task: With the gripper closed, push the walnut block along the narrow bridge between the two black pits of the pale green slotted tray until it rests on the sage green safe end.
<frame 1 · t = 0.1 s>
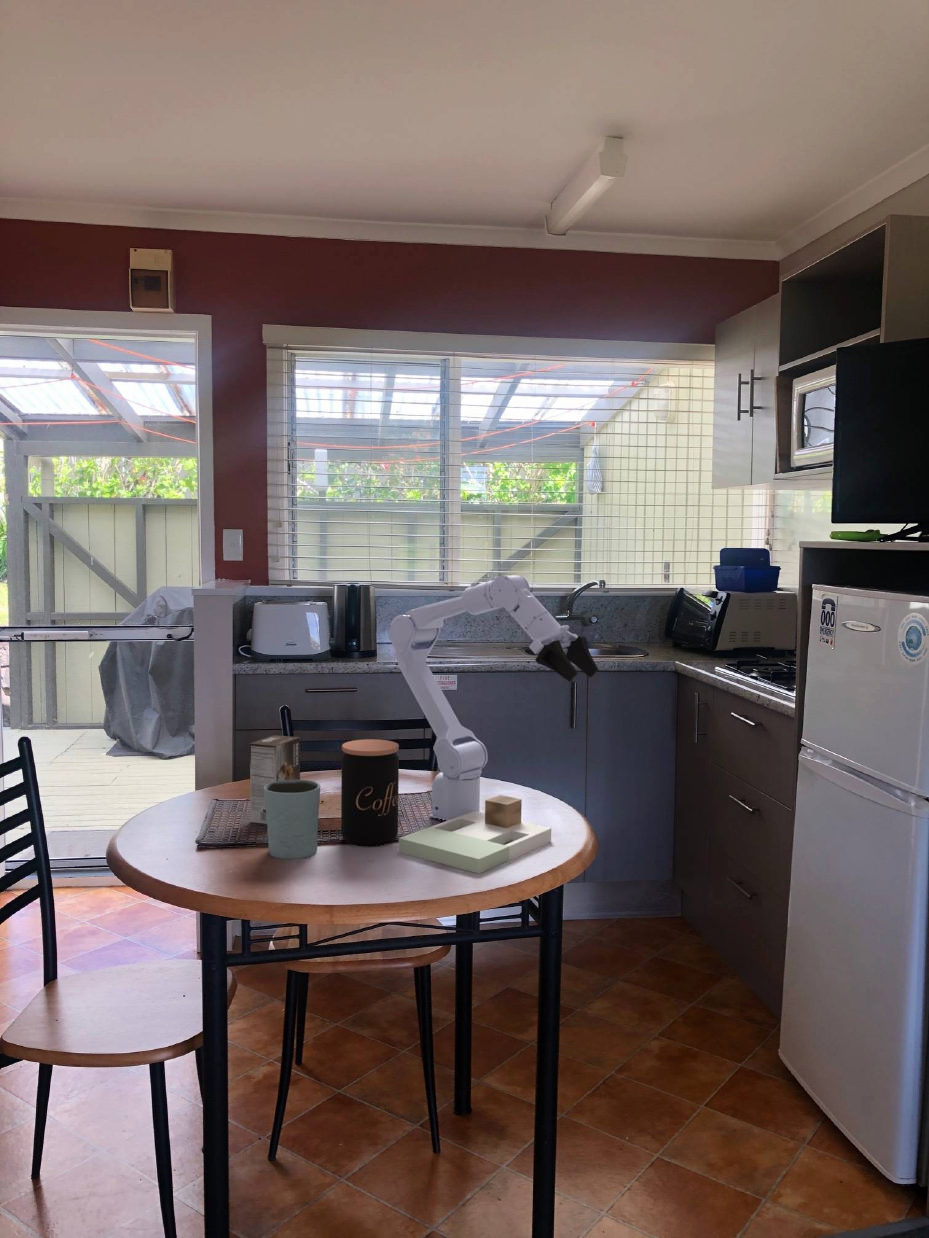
hand: (584, 675, 172), 32 cm above the table, tool tilted 50°, fingers open, 7 cm apart
pale green cup: (292, 852, 169), on the table
pale green slotted tray: (476, 846, 173), on the table
block: (503, 822, 179), point 2 cm above the table, touching pale green slotted tray
coffee box: (275, 819, 189), on the table
coffee jar: (369, 840, 176), on the table
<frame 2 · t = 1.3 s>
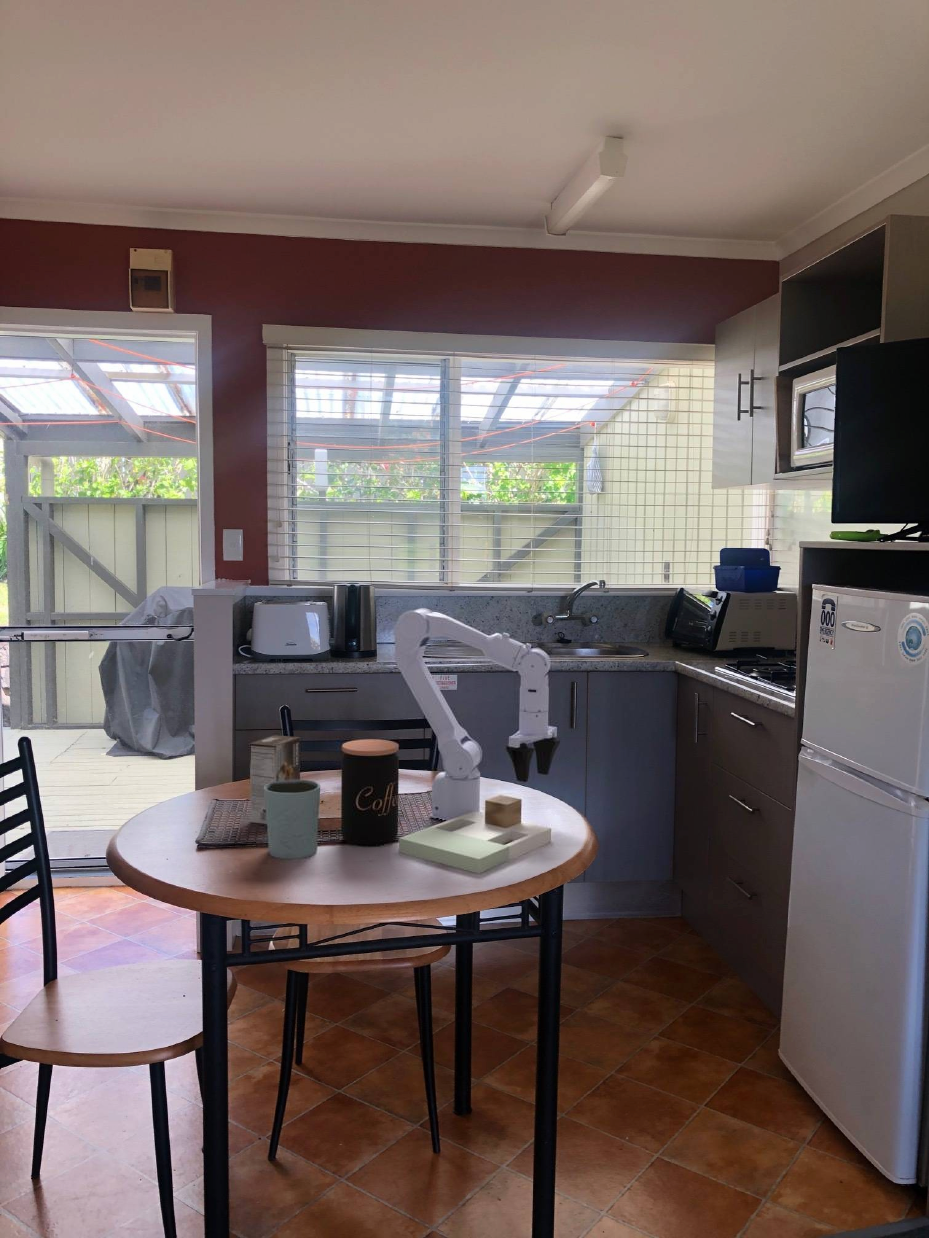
hand: (532, 777, 187), 9 cm above the table, tool pointing down, fingers open, 7 cm apart
nothing on the table moved.
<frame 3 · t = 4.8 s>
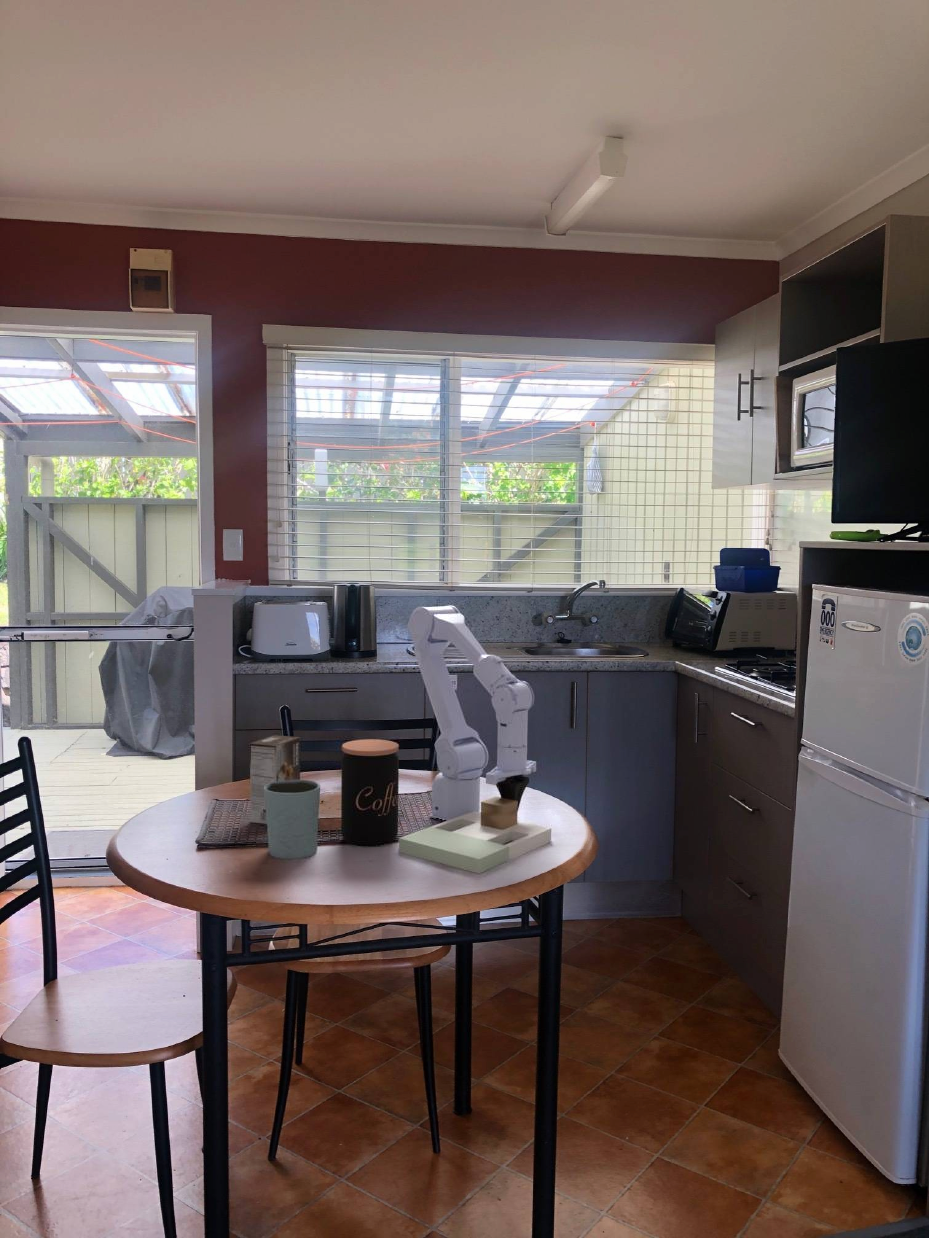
hand: (511, 814, 181), 4 cm above the table, tool pointing down, fingers closed
block: (499, 824, 178), point 2 cm above the table, touching pale green slotted tray, gripper
everything else where it was.
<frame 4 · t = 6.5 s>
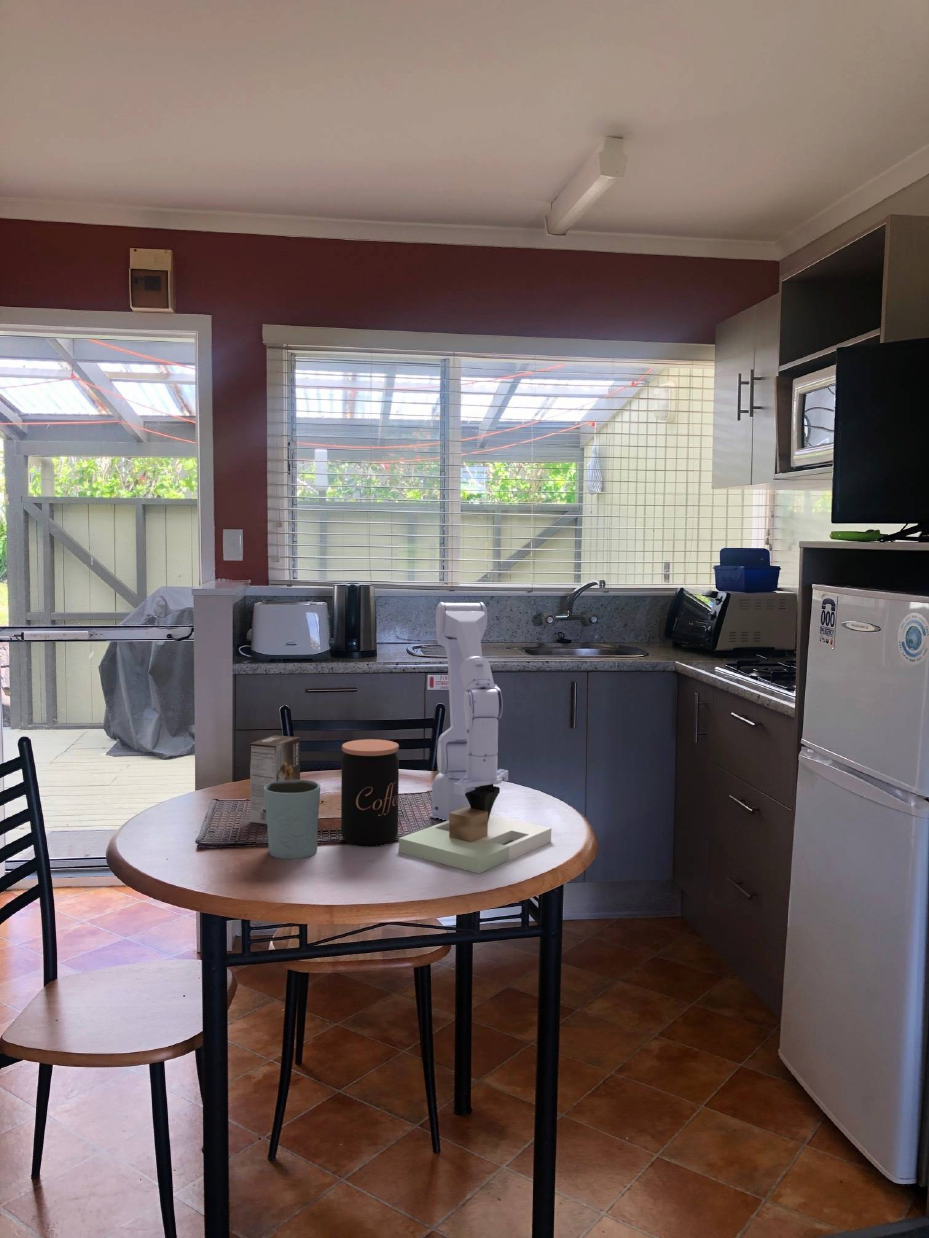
hand: (481, 825, 174), 4 cm above the table, tool pointing down, fingers closed
block: (468, 836, 171), point 3 cm above the table, touching gripper
everything else where it was.
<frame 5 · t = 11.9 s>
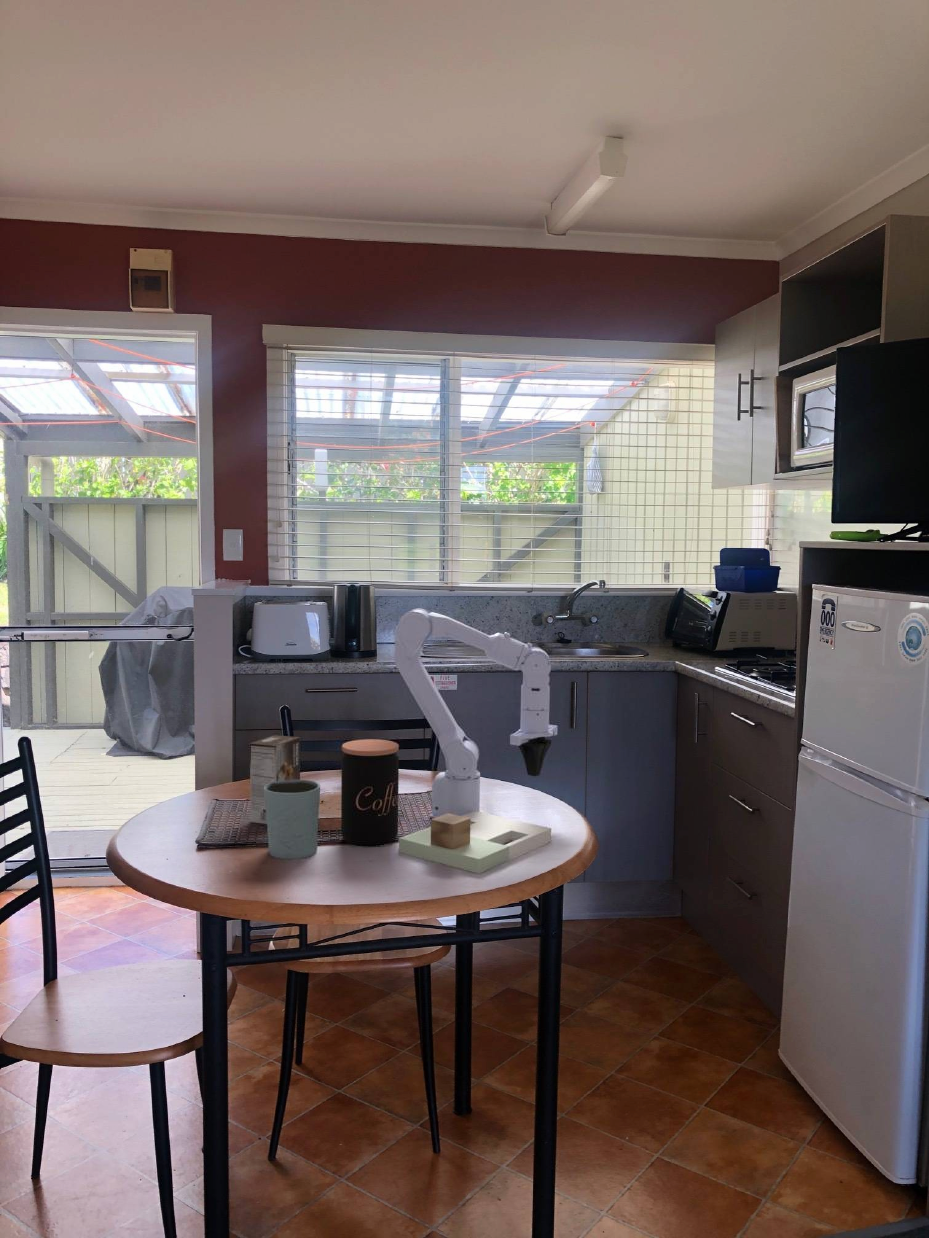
hand: (533, 775, 189), 9 cm above the table, tool pointing down, fingers closed
block: (450, 843, 166), point 2 cm above the table, touching pale green slotted tray
everything else where it was.
at the end: block inside the target area on the pale green slotted tray (0.8 cm from its centre), point 2.5 cm above the pale green slotted tray's base; block tilted 0° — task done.
